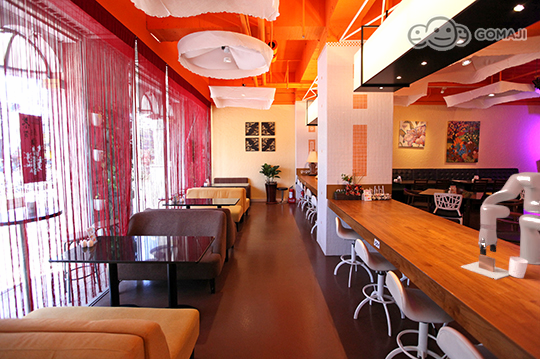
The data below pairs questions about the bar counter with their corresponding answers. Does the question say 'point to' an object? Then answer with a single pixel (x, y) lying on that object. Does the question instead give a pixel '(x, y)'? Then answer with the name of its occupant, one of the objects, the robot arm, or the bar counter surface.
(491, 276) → the mat
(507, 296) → the bar counter surface
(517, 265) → the white cup
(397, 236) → the bar counter surface
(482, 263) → the tile
